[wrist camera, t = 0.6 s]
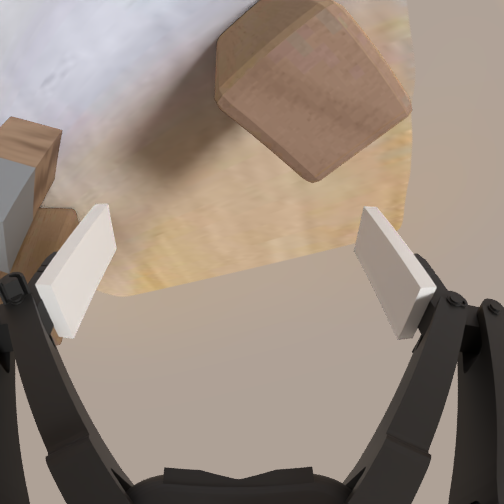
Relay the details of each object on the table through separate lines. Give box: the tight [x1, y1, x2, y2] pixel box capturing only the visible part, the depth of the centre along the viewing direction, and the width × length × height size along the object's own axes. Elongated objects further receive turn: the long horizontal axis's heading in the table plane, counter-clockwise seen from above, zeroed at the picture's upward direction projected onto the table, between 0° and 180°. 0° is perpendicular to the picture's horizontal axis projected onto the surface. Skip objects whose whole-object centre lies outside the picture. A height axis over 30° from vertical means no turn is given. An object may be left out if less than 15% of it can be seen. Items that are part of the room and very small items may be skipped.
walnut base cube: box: [0, 117, 62, 219], centre depth 34 cm, size 9×9×9 cm
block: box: [0, 208, 79, 345], centre depth 42 cm, size 10×10×20 cm
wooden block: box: [214, 0, 412, 183], centre depth 24 cm, size 10×10×20 cm
